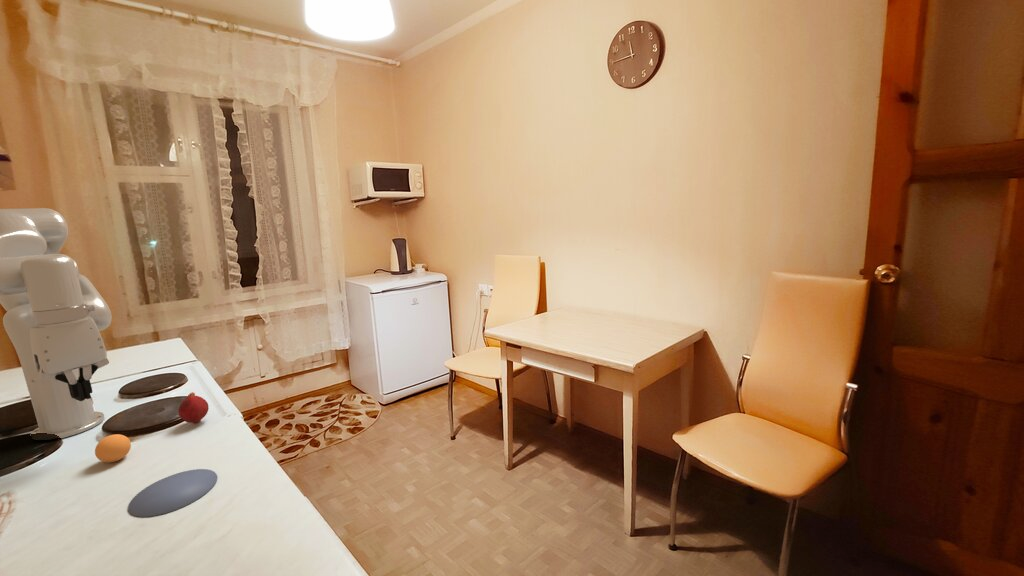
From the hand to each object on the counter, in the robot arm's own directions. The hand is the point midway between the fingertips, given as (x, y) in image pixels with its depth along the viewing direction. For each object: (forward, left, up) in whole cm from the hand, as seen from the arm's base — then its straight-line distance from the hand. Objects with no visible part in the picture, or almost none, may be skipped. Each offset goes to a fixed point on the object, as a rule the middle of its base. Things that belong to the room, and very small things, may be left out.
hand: (83, 398), depth 91 cm
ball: (+9, 0, -10) cm, 13 cm away
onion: (+8, +16, -13) cm, 22 cm away
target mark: (+33, 0, -12) cm, 35 cm away
